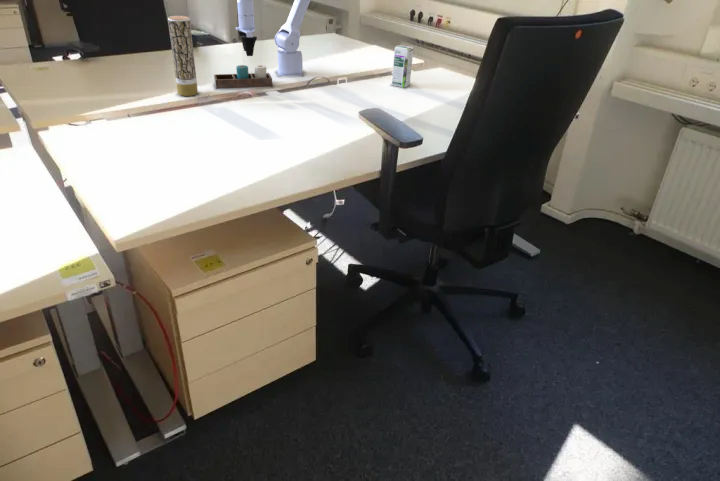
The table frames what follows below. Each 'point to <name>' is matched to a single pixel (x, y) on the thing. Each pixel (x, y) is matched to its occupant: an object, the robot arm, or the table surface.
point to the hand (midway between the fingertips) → (248, 53)
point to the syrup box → (402, 66)
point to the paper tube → (183, 55)
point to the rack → (241, 81)
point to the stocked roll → (260, 71)
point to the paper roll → (242, 72)
